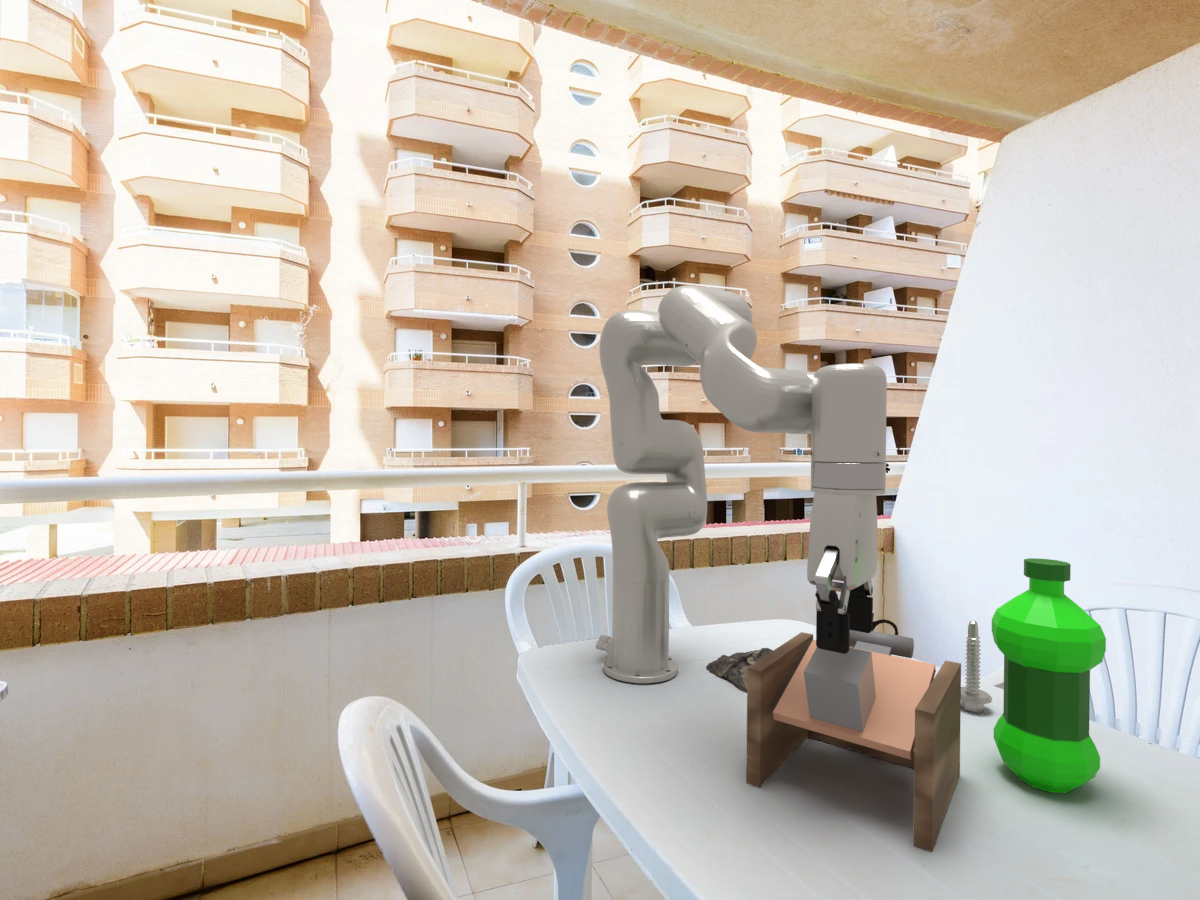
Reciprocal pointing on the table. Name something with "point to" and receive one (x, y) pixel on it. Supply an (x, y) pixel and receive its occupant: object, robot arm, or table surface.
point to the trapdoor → (894, 689)
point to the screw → (973, 674)
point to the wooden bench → (929, 759)
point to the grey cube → (840, 687)
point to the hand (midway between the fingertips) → (845, 639)
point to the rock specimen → (736, 666)
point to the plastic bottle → (1047, 681)
